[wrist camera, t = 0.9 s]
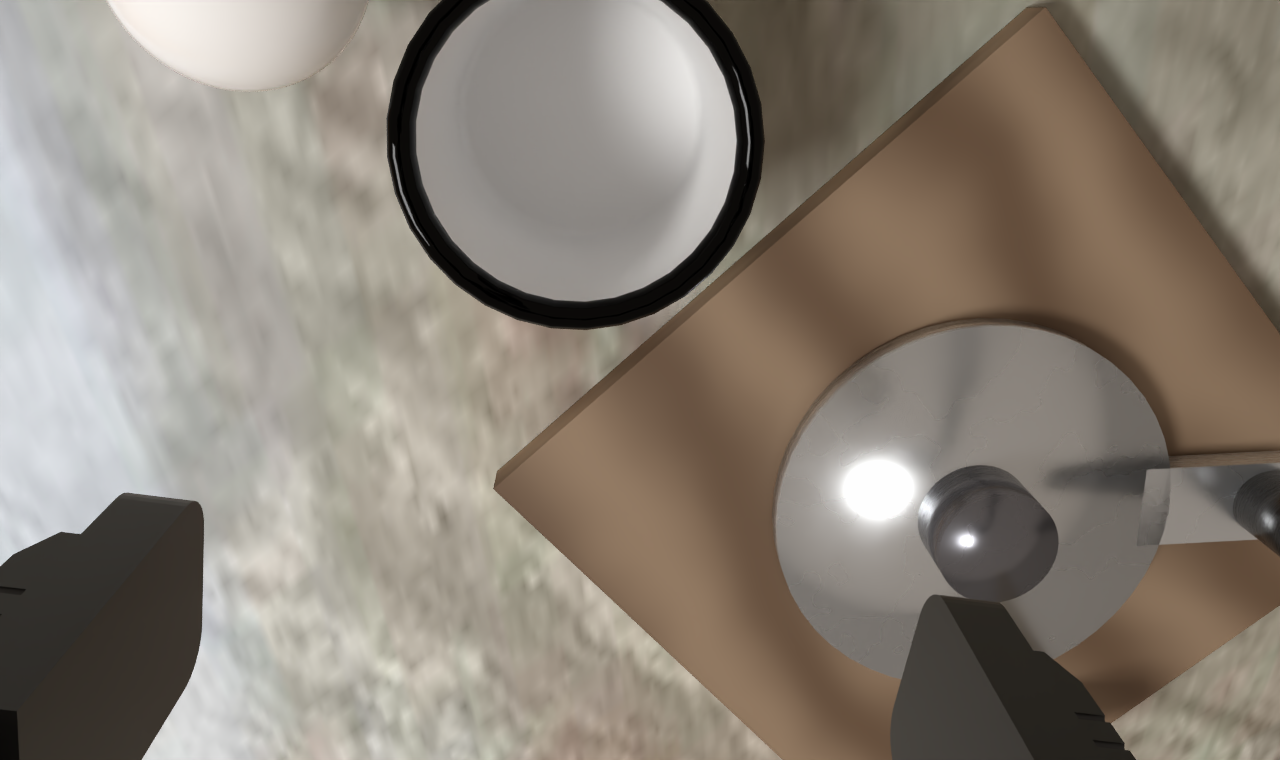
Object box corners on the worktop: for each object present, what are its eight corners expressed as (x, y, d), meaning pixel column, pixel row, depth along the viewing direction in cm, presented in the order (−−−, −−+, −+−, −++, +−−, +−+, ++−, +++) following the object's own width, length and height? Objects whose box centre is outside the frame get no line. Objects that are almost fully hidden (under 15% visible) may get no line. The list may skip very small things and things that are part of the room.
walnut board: (1026, 7, 34) (1113, 6, 28) (1380, 497, 40) (1509, 575, 35) (497, 471, 38) (480, 550, 33) (891, 843, 45) (933, 962, 39)
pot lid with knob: (771, 679, 40) (794, 768, 35) (773, 327, 35) (800, 376, 31) (1251, 652, 40) (1338, 736, 36) (1316, 302, 36) (1425, 346, 31)
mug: (696, 275, 36) (727, 355, 28) (423, 234, 35) (368, 304, 27) (765, -97, 32) (826, -136, 24) (461, -153, 32) (411, -215, 23)
